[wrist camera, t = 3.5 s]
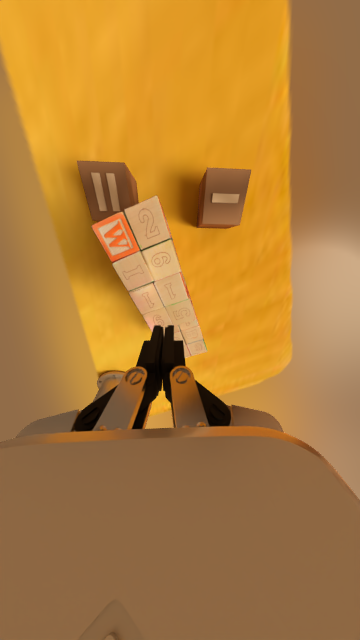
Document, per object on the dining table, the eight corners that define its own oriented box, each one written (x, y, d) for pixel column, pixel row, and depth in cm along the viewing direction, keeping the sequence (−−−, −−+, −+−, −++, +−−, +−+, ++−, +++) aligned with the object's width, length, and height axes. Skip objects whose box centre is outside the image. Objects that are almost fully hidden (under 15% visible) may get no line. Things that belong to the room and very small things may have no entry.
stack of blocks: (199, 324, 31) (211, 366, 20) (174, 331, 32) (175, 375, 21) (166, 218, 20) (157, 191, 10) (131, 233, 21) (87, 223, 11)
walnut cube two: (141, 225, 21) (132, 220, 16) (109, 224, 20) (91, 219, 16) (136, 181, 18) (123, 161, 14) (100, 180, 18) (75, 159, 13)
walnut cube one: (226, 228, 21) (240, 224, 17) (196, 227, 21) (202, 223, 17) (233, 186, 19) (252, 168, 14) (199, 185, 18) (207, 166, 14)
